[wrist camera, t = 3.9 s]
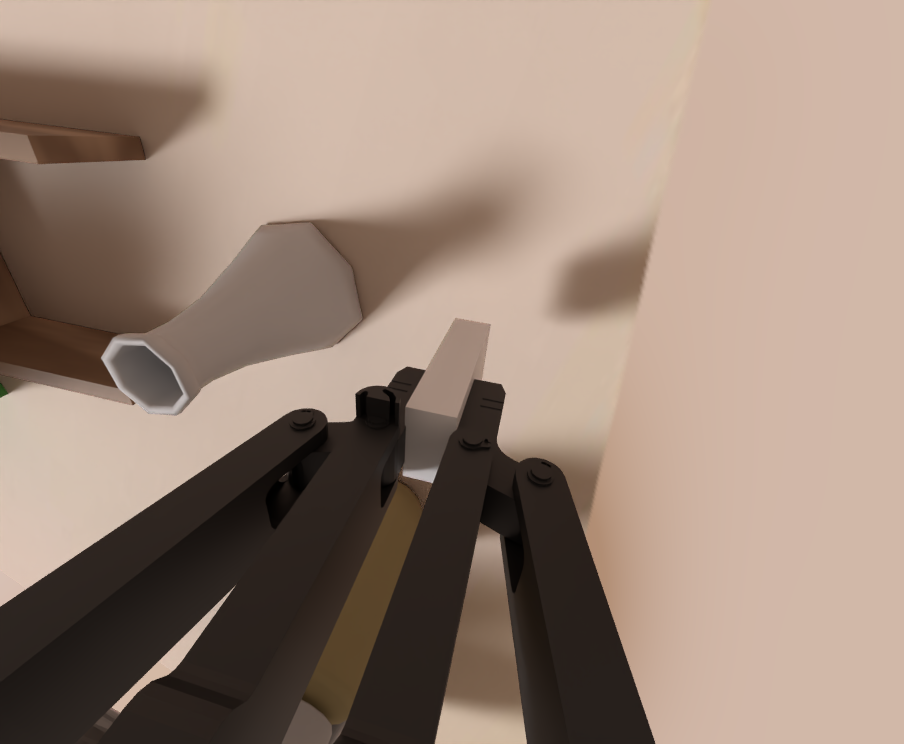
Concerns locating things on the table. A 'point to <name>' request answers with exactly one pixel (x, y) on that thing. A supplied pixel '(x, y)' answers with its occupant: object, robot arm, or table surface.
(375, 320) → the table surface
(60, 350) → the box
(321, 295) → the flask
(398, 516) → the squeeze bottle
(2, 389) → the hardback book
